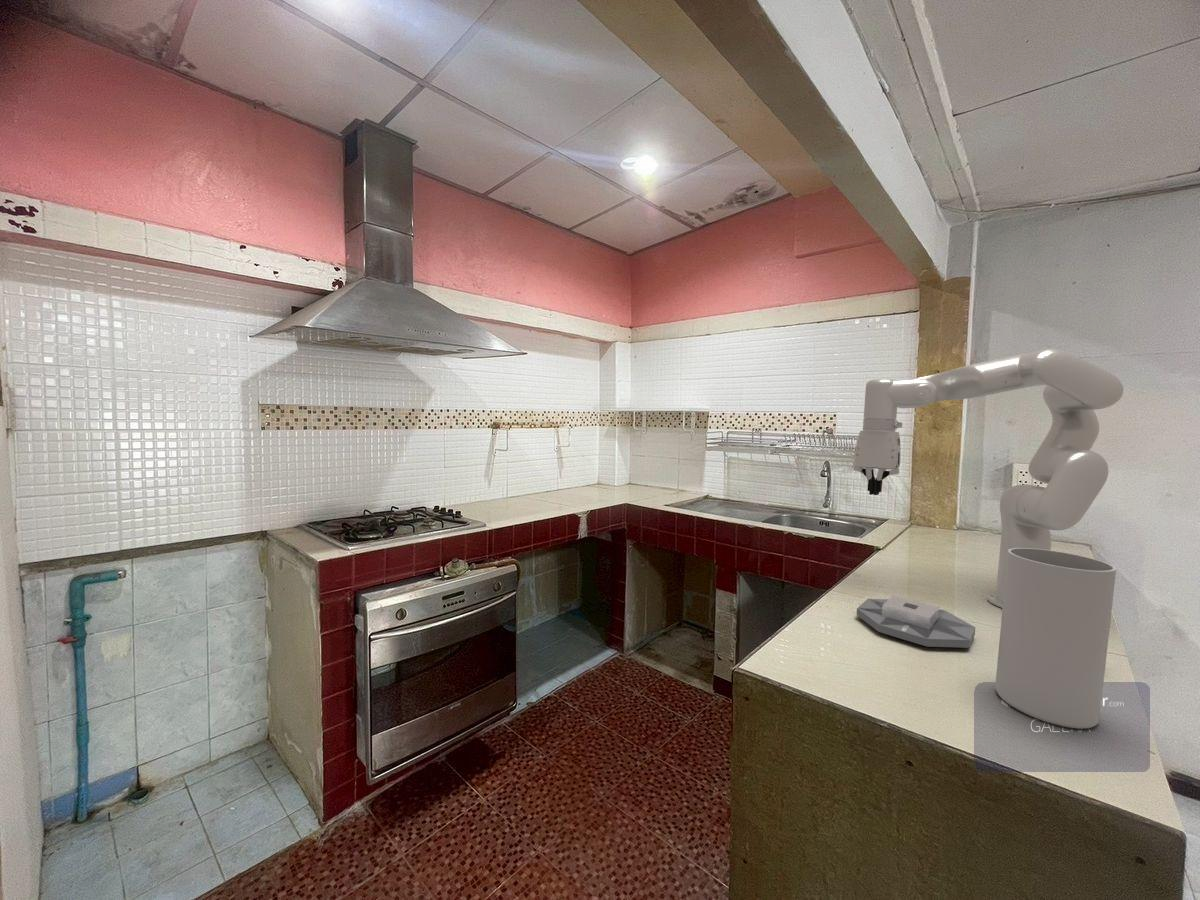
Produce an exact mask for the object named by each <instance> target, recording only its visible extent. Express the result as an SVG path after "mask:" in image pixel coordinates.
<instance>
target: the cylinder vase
mask: <svg viewBox="0 0 1200 900" xmlns="http://www.w3.org/2000/svg"><path fill="white" fill-rule="evenodd" d="M1116 573H1117V568H1116V566H1115V565H1113V564H1112V563H1108V562H1105V561H1103V560H1098V559H1097V558H1091V557H1089V556H1084V555H1079V554H1074V553H1070V552H1063V551H1058V550H1052V549H1051V550H1044V549H1034V548H1012V549H1009V550H1008V556H1007V567H1006V577H1005V588H1004V598H1003V608H1001V609H1002V612H1001V622H1000V630H999V631H1000V633H999V643H998V653H997V663H996V673H995V685H994V687H995V691H996V693H997V695H999V697H1000V698H1001V700H1003V701H1004V702H1006V703H1007V704H1008V705H1009V706H1011V707H1013V708H1014V709H1016V710H1017V711H1020V712H1022V713H1023V714H1026V715H1027V716H1030V717H1032V718H1035V719H1038V720H1040V721H1043V722H1045V723H1049V724H1052V725H1056V726H1059V727H1063V728H1064V727H1065V728H1070V729H1081V730H1083V729H1090V728H1094V727H1096V726H1097V725H1098V724H1099V722H1100V718H1101V717H1100V716H1101V708H1102V701H1103V692H1104V691H1103V690H1104V682H1105V681H1104V679H1105V672H1106V665H1107V664H1106V663H1107V656H1108V655H1107V653H1108V646H1109V636H1110V627H1111V617H1112V609H1113V600H1114V591H1115V584H1116V583H1115V582H1116V575H1117V574H1116Z"/></svg>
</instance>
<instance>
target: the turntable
mask: <svg viewBox="0 0 1200 900" xmlns="http://www.w3.org/2000/svg"><path fill="white" fill-rule="evenodd" d="M889 599H890V598H888V599H887V598H886V599H884V598H867V599H866V600H865V601H863V602H862V603H861V604H860V605H859V606H857V608H856V616H857V617H858V618H860V619H861V620H863V621H864V622H865V623H866V624H867V625H869V626H870V627H872V628H873V629H874V630H876V631H877V632H878V633H880V634H884V635H887V636H891V637H894V638H898V639H901V640H904V641H908V642H911V643H914V644H918V645H920V646H924V647H930V648H931V647H935V648H936V647H937V648H965V649H966V648H967V649H968V648H970V646H971V644H972V642H973V640H974V638H975V635H976V626H974V625H972V624H970V623H968V622H967V621H966V620H963V619H961V618H959V617H958V616H956V615H954V614H952V613H950V612H949V611H947V610H945V609H941V608H939V614H938V619H937V620H936V621H935V623H934V624H933V625H932V627H931V628H930V629H925V628H922V627H919V626H915V625H912V624H908V623H905V622H901V621H898V620H894V619H891V618H887V617H884V616H882V605H883V604H884V603H885V602H887V601H888V600H889Z"/></svg>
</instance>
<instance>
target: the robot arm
mask: <svg viewBox="0 0 1200 900" xmlns="http://www.w3.org/2000/svg"><path fill="white" fill-rule="evenodd" d="M1037 386H1044V387H1043V388H1044V389H1043V392H1042V397H1043V398H1042V399H1043V401H1044V403H1045V404H1046V406H1047V408H1048V409H1049V412H1050V414H1051V418H1052V424H1051V426H1050V428H1049V431H1048V432H1047V434H1046V436H1045V438H1044V439H1043V441H1042V442H1041V444H1040V445H1039V447H1038V448H1037V450H1036V452H1035V453H1034V455H1033V457H1032V458H1031V460H1030V461H1029V464H1028V473H1029V475H1030V476H1031V477H1032V479H1034V480H1035V481H1038V482H1040V483H1043V484H1046V487H1043V486H1039V485H1034V484H1017V485H1013V486H1011V487H1009V488H1007V489H1006V490H1005V491H1004V492H1003V493H1002V495H1001V497H1000V501H999V512H1000V518H1001V519H1000V520H1001V535H1000V545H999V555H998V564H997V565H998V567H997V576H996V586H995V587H996V588H995V592H992V593H989V594H988V595H987V601H988V602H989V603H990V604H992V605H994V606H996V607H998V608H1000V609H1003V598H1004V588H1005V577H1006V567H1007V556H1008V550H1009V549H1012V548H1034V549H1044V550H1051V551H1052V537H1051V536H1052V535H1051V532H1050V531H1065V530H1068V529H1071V528H1073V527H1074V526H1076V525H1077V524H1078V523H1079V522H1080V521H1081V520H1082V518H1084V515H1085V514H1086V513H1087V511H1088V510H1089V509H1090V508H1091V506H1092V504H1093V503H1094V501H1095V500H1096V498H1097V496H1099V493H1100V492H1101V490H1102V489H1103V487H1104V486H1105V484H1106V482H1107V480H1108V477H1109V465H1108V462H1107V460H1106V459H1105V458H1104V457H1103V456H1102V455H1101V454H1100V453H1098V452H1096V451H1093V450H1091V449H1092V448H1093V445H1094V444H1095V442H1096V440H1097V438H1098V436H1099V433H1100V424H1099V420H1098V419H1099V418H1098V416H1097V415H1096V412H1095V410H1103V409H1106V408H1110V407H1111V406H1113V405H1115V404H1116V403H1118V402H1119V401H1120V400H1121V398H1122V397H1123V394H1124V385H1123V383H1122V381H1121V380H1120V378H1118V376H1116V375H1115V374H1113V373H1112V372H1110V371H1108V370H1106V369H1104V368H1102V367H1099V366H1098V365H1095V364H1093V363H1091V362H1089V361H1087V360H1084V359H1083V358H1081V357H1078V356H1076V355H1074V354H1071V353H1069V352H1066V351H1064V350H1061V349H1056V348H1045V349H1041V350H1035V351H1030V352H1025V353H1019V354H1015V355H1014V354H1013V355H1011V356H1006V357H1001V358H997V359H992V360H987V361H983V362H977V363H972V364H969V365H964V366H959V367H957V368H953V369H950V370H946V371H942V372H938V373H933V374H930V375H926V376H921V377H916V378H909V379H897V380H896V379H890V378H878V379H877V378H876V379H871V380H869V381H867V382H866V385H865V390H864V391H865V392H864V393H865V395H864V405H863V406H864V407H863V422H862V430H859V433H858V436H857V441H856V445H855V449H854V450H855V451H854V466H853V471H856V472H859V473H861V474H863V475H864V476H865V478H866V479H867V491H868V492H869V493H868V495H873V496H878V495H880V493H882V490H883V480H884V479H886V478H888V476H893V475H899V474H900V466H901V458H902V457H901V454H902V453H901V450H902V449H901V448H902V446H901V435H900V432H899V431H896V430H897V429H899V428H903V422H899V421H898V420H897V415H898V413H897V412H898V408H899V409H918V408H923V407H926V406H929V405H931V404H932V403H937V402H938V403H939V402H943V401H951V400H966V399H968V400H969V399H974V398H980V397H981V398H982V397H985V396H991V395H994V394H999V393H1005V392H1009V391H1015V390H1020V389H1024V388H1030V387H1037ZM876 469H878V471H877V473H876V474H877V475H876V477H875V470H876Z"/></svg>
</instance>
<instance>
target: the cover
mask: <svg viewBox="0 0 1200 900" xmlns="http://www.w3.org/2000/svg"><path fill="white" fill-rule="evenodd" d="M888 599H889V600H888V601H887V602H885V603H884V604H883V605H882V616H884V617H887V618H891V619H894V620H898V621H901V622H905V623H908V624H912V625H915V626H919V627H922V628H925V629H930V628H931V627H932V625H933V624H934V623H935V621H936V620H937V619H938V614H939V609H940V607H939V606H935V605H933V604H929V603H925V602H921V601H916V600H914V599H913V600H912V599H910V598H905V597H902V596H898V595H892V596H891V597H890V598H888Z"/></svg>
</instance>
